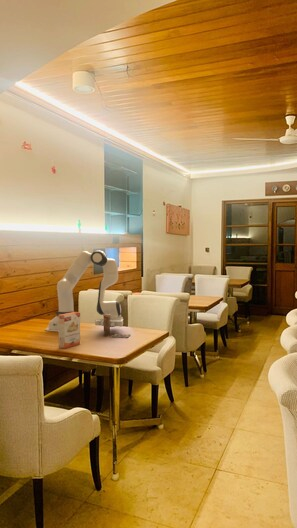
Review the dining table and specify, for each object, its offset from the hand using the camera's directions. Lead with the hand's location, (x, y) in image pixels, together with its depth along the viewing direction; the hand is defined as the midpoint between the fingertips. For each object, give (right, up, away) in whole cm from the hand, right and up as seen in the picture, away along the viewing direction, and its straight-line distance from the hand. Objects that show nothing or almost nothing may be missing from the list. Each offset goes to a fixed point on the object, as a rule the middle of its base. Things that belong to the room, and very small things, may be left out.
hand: (106, 324), depth 274 cm
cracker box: (-21, -10, -26) cm, 34 cm away
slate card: (+10, -8, 0) cm, 13 cm away
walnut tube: (0, -8, +1) cm, 8 cm away
